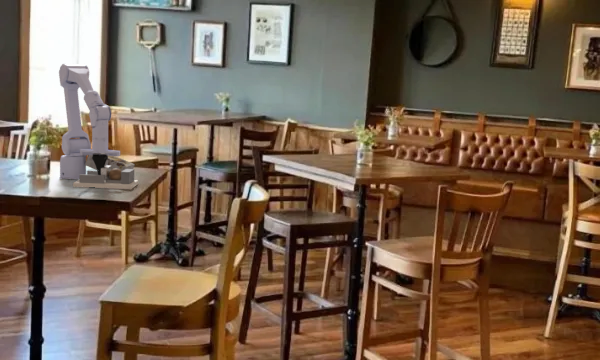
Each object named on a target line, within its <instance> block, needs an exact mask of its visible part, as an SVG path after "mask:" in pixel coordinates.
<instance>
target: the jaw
mask: <svg viewBox="0 0 600 360" xmlns="http://www.w3.org/2000/svg"><path fill="white" fill-rule="evenodd" d="M111 170H112V166H110V165H106V166H104V167H102V168H101V175H105V179H108V178H109V172H110V171H111Z"/></svg>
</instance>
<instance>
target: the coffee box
mask: <svg viewBox="0 0 600 360" xmlns="http://www.w3.org/2000/svg"><path fill="white" fill-rule="evenodd" d="M94 154H105V153H94ZM92 157H93V155H87V156H86V164H85V165H86V167H88V168H91V169H93V170H94V171H97V168H96V165H95V163H94V161H93V159H92ZM106 165H110V166H112V169H114V168H118V169H120V170H121V171H123V170H125V169H134V168H135V163H132V162H130V161H128V160H126V159H123V158H120V156H108V159H107V161H106V163H105V165H104V166H106Z"/></svg>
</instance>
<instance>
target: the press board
mask: <svg viewBox="0 0 600 360" xmlns="http://www.w3.org/2000/svg"><path fill="white" fill-rule="evenodd" d="M72 185H73V188H89V187H95V188H94V189H113V190H114V189H116V190H117V189H118V190H119V189H120V190H132V189H133V188H135V187H136V186H138V185H139V180H138V179H135V169H134V168H133V169H125V170H123V171H122V172H121V180H111V179H110V178H108V179H105V175H98V172H97V170H86V174H79V179H77V180H76V181H73V183H72Z"/></svg>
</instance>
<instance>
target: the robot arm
mask: <svg viewBox="0 0 600 360" xmlns="http://www.w3.org/2000/svg"><path fill="white" fill-rule="evenodd" d="M58 76H59V83H60V84H59V85H60V86H61V88H63V93H64V101H65V112H66V119H67V120H66V121H67V122H66V123H67V129H68V130H67V131H66V132H65V133H64V134H63V135H62V136H61V150H62V153H63V154H64V155H61V156H60V159H59V179H60V180H61V179H63V180H65V179H66V180H79V174H86V175H87V166H86V165H85V164H86V161H87V157H88V155H93V157H92V159H93V161H94V163H95V165H96V168H97V170H96V171H97V172H98V175H101V168H102V167H104V165H105V163H106V161H107V159H108V156H116V157H120V156H121V150H115V149H109V122H110V121H111V118H112V110H111V107H110V106H109V105H107V104H106V103H104V100H102V98H101V95H100V94H99V92H98V91H96V90H94V89H93V86H92V84H91V81H90V78H89V77H90V68H89V66H88V65H87V64H85V63H84V64H74V63H73V64H71V63H70V64H69V63H68V64H67V63H62V64H61V65H60V67H59V71H58ZM79 88H80V90H81V91H82V93H83V94H84V95H83V100H84V102H85V105H86V106H87V108H88V111H89V113H88V116H89V120H90V126H91V128H92V129H91V134H92V135H91V141H90V137H89V136H90V135H89V134H88V133H87V132H86V131H84V130H83V128H82V127H83V126H82V121H81V120H82V119H81V109H80V101H79V92H78V91H79ZM94 153H105V154H94Z"/></svg>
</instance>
